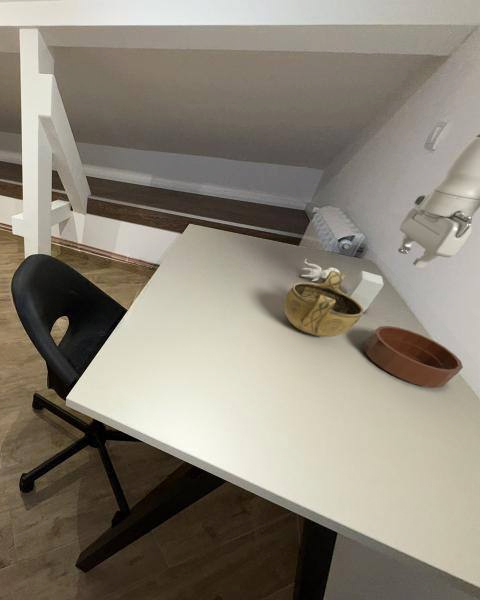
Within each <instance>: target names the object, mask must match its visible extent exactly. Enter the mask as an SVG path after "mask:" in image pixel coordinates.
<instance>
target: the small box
mask: <svg viewBox="0 0 480 600" xmlns="http://www.w3.org/2000/svg"><path fill="white" fill-rule="evenodd" d="M383 287H384V280H383V276H382V275H379V274H375V273H372V272H368V271H364V270H361V271H360V272H359V274H358V275H357V277H356V278H355V280H354V281H353V283H352V284H351V286H350V288H349V289H348V290H347V292H346V293H345V294H346V295H348V296H350V297H352V298H353V299H354V300H356V301H357V302H358V303H359V304H360V305H361V306H362V307H363V313H364V312H366V311H367V309H368V307H369V306H370V305H371V304H372V302H373V301H374V299H375V298H376V297H377V295H378V294H379V293H380V291H381V289H382V288H383Z"/></svg>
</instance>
